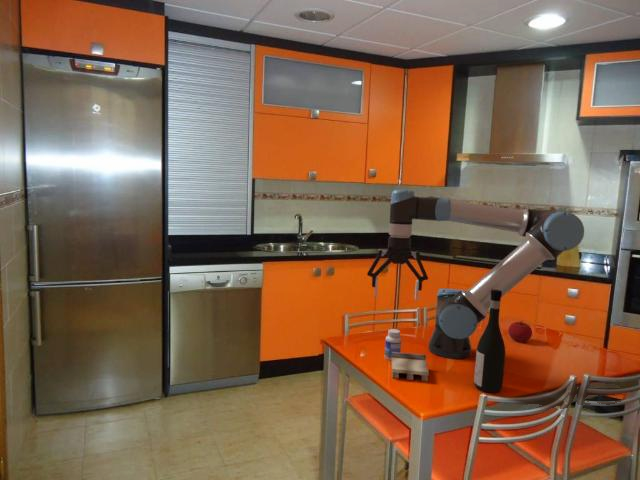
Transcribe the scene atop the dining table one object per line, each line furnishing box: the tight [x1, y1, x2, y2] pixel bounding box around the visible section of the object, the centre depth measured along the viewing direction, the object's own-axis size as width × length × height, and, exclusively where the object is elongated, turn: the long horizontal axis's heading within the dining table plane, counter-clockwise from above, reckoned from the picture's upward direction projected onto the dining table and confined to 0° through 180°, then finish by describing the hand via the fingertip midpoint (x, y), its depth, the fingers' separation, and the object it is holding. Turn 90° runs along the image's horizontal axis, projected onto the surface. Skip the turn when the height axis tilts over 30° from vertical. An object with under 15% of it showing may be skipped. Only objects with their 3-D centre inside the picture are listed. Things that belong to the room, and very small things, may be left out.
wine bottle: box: [473, 290, 506, 394], centre depth 138 cm, size 8×8×30 cm
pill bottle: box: [384, 328, 402, 361], centre depth 161 cm, size 5×5×10 cm
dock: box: [391, 351, 430, 382], centre depth 148 cm, size 11×11×4 cm
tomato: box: [507, 320, 533, 342], centre depth 186 cm, size 9×9×8 cm
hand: (395, 298), depth 159 cm, fingers open, 13 cm apart
